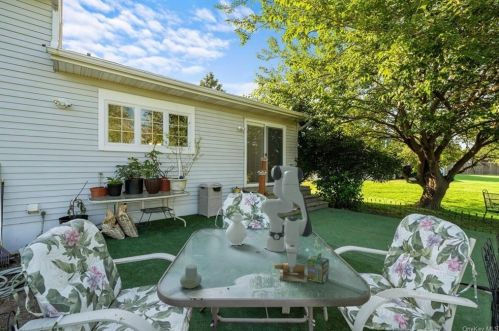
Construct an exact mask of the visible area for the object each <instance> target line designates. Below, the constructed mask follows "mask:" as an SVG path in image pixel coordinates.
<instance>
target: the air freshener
mask: <svg viewBox="0 0 499 331" xmlns="http://www.w3.org/2000/svg"><path fill="white" fill-rule="evenodd" d="M202 282H203V281H202V276H201V275H200V274H199V273H198V266H197V265H196V264H189V265H186V266H185V273H184V274H182V276H181V277H180V279H179V283H180V285H181V287H183V288H186V289H189V290H190V289H193V288H196V287H198V286H200V284H201V283H202Z"/></svg>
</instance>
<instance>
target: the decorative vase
mask: <svg viewBox="0 0 499 331" xmlns="http://www.w3.org/2000/svg"><path fill="white" fill-rule="evenodd" d="M242 215H243V213H242V212H233V213H232V216H231V221H232V223H231V224H229V226H228V227H227V229H226V231H225V236H226V237H227V239H228V240H229V243H230V244H231V245H241V244H242V242H243V243H244V240H246V238H247V236H248V233H249V232H248V228H247V227H246V226H245V224H244V223H243V222H242V221H243V220H244V217H243V216H242ZM231 245H230V246H231Z"/></svg>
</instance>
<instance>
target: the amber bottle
mask: <svg viewBox="0 0 499 331" xmlns="http://www.w3.org/2000/svg"><path fill="white" fill-rule="evenodd" d="M274 269H276V270H287V272H288V273H297V274H299V271H303V272H304V274H305V272H306V265H305V264H300V263H296V265H295V267H293V272H290V267H289V266H288V262H283V264H280V263H274Z"/></svg>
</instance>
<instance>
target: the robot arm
mask: <svg viewBox="0 0 499 331" xmlns="http://www.w3.org/2000/svg"><path fill="white" fill-rule="evenodd" d="M270 172H271V173H270V174H271V178H272V179H273V180H274V184H273V188H272V193H273V194H274V196H276V197H277V198H268V199H263V201H262V202H261V204H260V205H261V206H260V207H261V210H262V212H263V213H264V214H265V215H266V216H267V217H268V220H269V230H268V237H266V245H265V246H264V248H263V249H265V248H266V249H265V250H268V251H270V252H275V253H282V252H286V254H287V255H286V256H287V263H288V266H289V267H290V272H293V267H295V265H296V264H297V255H298V253H299V250H300V245H301V244H300V243H301V242H300V237H302V238H303V237H304V238H309V237H310V236H311V235H312V234H313V231H314V228H313V227H314V226H313V224H312V221H311V217H310V213H309V209H308V205H307V199H306V197H305V195H304V194H302V193H301V190H300V183H299V182H300V181H302V179H303V170H302V168H300V167H297V166H292V165H291V166H290V165H274V166H272V169H271V171H270ZM293 203H294V204H296V205H297V206H298V207H300V211H301V217H302V219H299V217H297V216H295V215H287V216H286V217H285V219H282V218H281V217H279V216H278V214H287V213H291V212H292V211H293V209H294V204H293ZM285 250H286V251H285Z"/></svg>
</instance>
